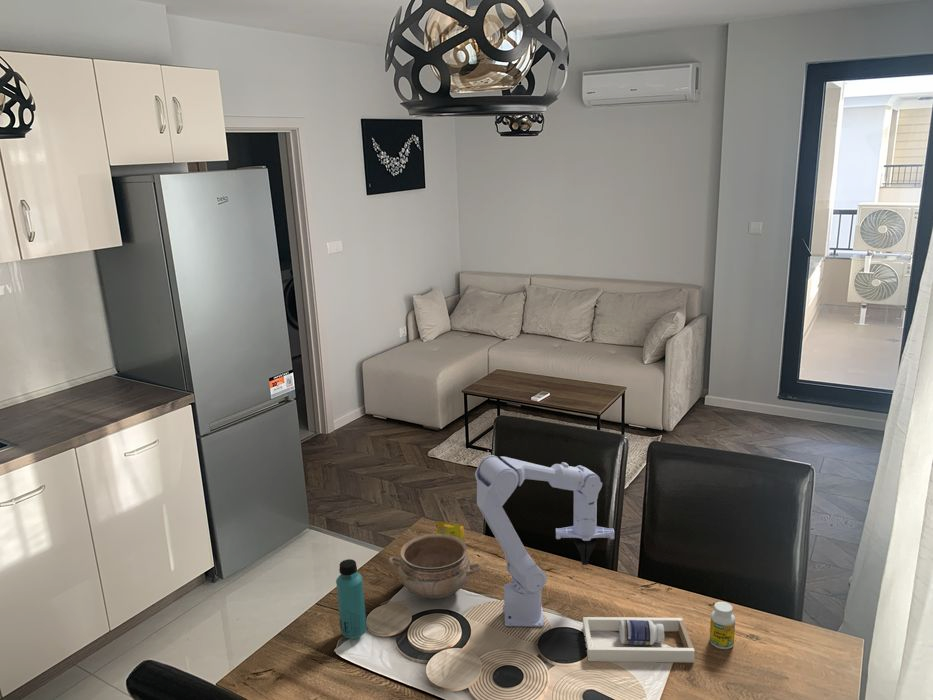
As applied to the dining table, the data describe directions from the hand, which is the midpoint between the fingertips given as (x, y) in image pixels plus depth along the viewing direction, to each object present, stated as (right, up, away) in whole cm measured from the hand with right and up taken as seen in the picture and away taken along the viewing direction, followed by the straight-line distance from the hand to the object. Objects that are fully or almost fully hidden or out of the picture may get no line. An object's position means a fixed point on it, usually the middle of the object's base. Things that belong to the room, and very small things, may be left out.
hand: (584, 562), depth 180 cm
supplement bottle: (+29, -14, -16) cm, 36 cm away
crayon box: (-34, -6, +24) cm, 43 cm away
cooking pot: (-38, -10, +8) cm, 41 cm away
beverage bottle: (-57, -15, -9) cm, 60 cm away
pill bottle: (+6, -12, -15) cm, 20 cm away
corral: (+9, -14, -15) cm, 23 cm away
